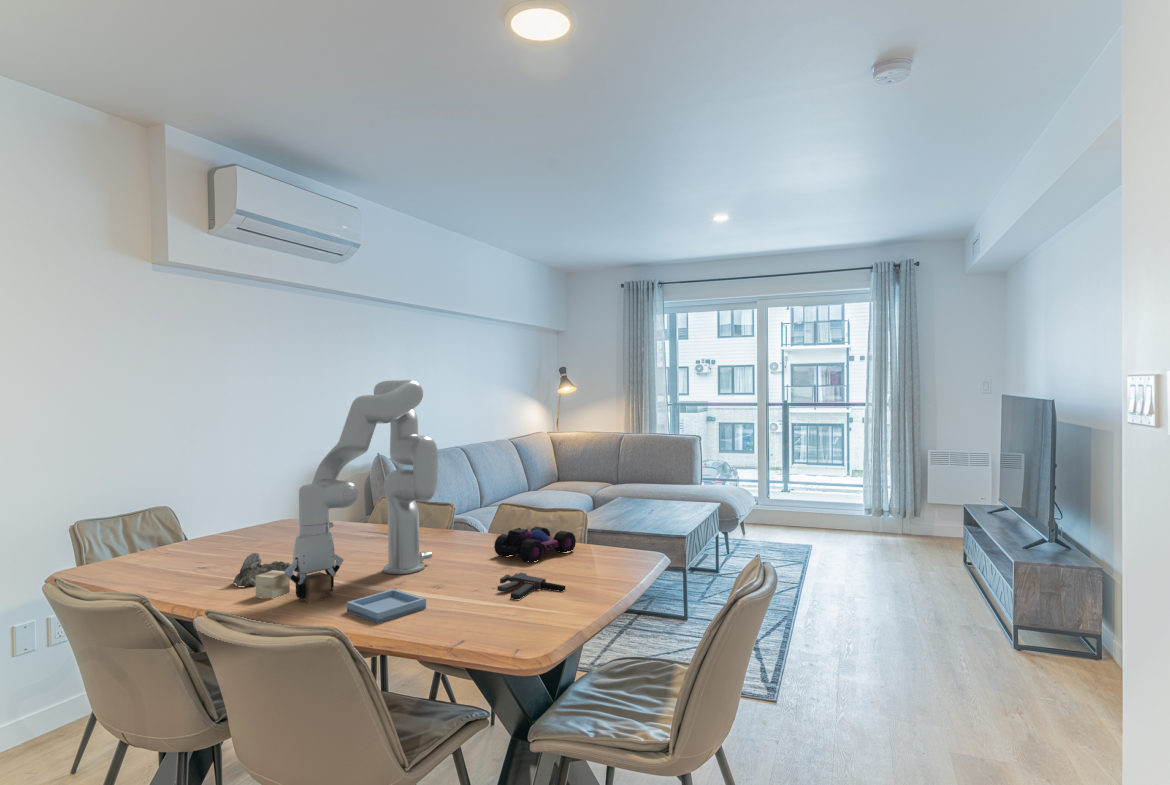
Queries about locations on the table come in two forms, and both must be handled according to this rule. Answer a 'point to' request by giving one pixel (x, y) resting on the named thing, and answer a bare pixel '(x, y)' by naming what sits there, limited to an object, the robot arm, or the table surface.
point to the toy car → (533, 543)
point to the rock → (256, 570)
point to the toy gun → (525, 584)
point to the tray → (386, 605)
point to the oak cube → (272, 584)
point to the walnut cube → (317, 587)
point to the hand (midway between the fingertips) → (315, 593)
